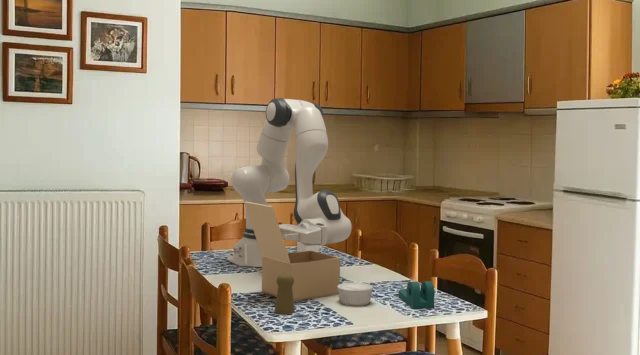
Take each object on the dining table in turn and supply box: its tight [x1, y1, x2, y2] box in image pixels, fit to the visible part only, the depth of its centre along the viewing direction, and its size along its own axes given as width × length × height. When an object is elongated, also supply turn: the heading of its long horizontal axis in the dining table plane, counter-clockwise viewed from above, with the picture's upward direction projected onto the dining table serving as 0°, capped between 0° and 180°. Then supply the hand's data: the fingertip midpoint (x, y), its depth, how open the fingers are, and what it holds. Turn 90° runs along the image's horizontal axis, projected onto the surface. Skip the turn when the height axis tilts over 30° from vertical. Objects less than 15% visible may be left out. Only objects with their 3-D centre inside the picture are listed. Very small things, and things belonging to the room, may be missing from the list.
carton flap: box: [244, 202, 290, 263], centre depth 225 cm, size 15×19×1 cm
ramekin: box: [337, 281, 374, 307], centre depth 224 cm, size 11×11×5 cm
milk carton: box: [296, 223, 320, 253], centre depth 309 cm, size 7×7×19 cm
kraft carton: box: [261, 251, 341, 303], centre depth 234 cm, size 16×20×12 cm
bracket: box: [398, 280, 435, 310], centre depth 227 cm, size 18×7×8 cm, turn 10°
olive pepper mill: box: [274, 274, 296, 315], centre depth 211 cm, size 6×6×11 cm
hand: (275, 235), depth 227 cm, fingers open, 8 cm apart
